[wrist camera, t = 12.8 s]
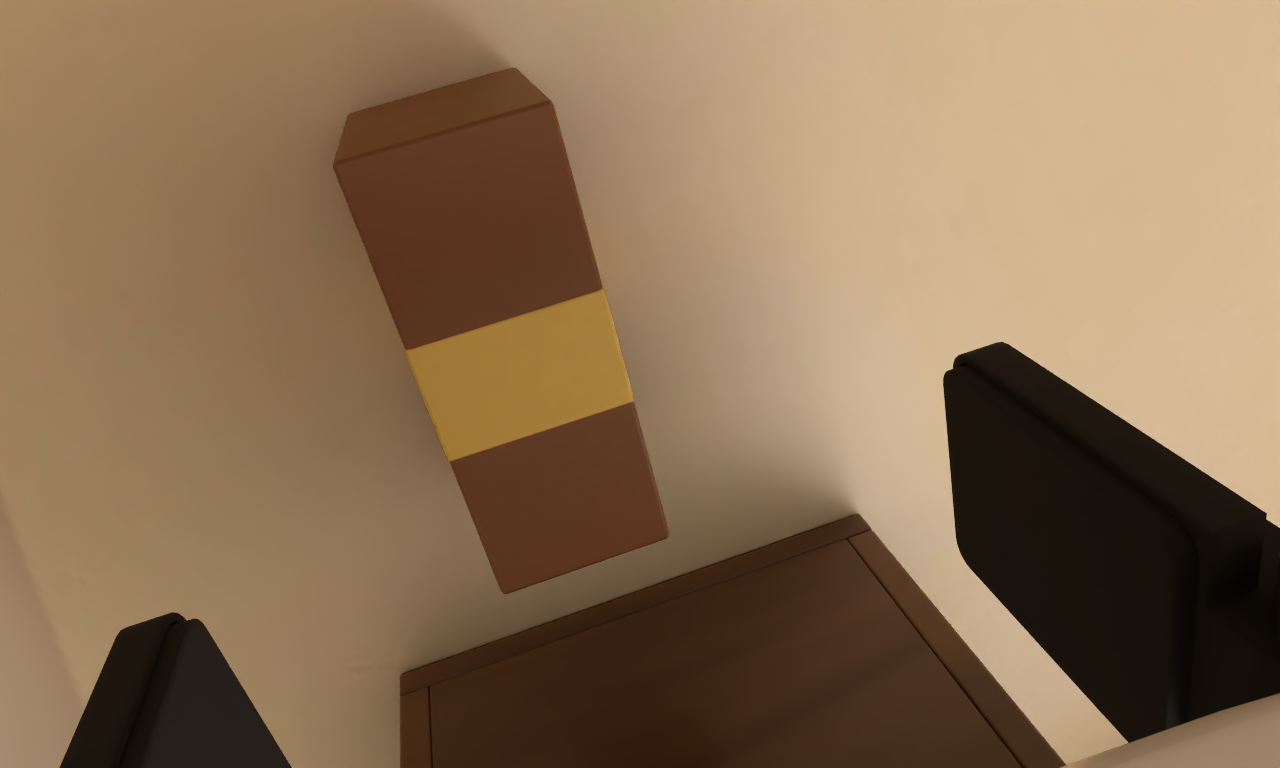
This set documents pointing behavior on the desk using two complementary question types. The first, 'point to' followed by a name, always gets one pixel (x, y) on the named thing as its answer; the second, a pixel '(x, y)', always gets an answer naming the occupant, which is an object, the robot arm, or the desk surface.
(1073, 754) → the desk surface
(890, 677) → the chest
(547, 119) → the candy bar
